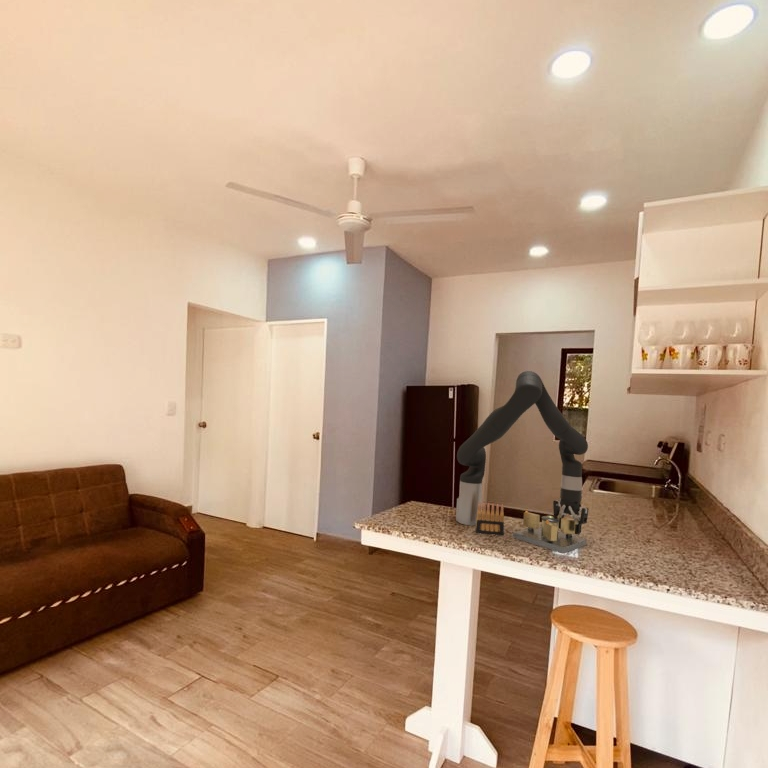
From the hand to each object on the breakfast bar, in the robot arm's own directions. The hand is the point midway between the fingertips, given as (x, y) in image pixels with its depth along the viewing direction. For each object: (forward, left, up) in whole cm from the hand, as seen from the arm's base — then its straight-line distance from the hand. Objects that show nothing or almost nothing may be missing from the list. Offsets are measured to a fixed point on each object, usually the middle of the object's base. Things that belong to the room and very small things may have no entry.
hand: (569, 531), depth 167 cm
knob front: (0, -14, -2) cm, 14 cm away
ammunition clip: (-22, -20, -4) cm, 30 cm away
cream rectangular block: (0, 0, -2) cm, 2 cm away
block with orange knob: (-12, -6, -2) cm, 14 cm away
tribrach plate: (-4, -7, -4) cm, 9 cm away
